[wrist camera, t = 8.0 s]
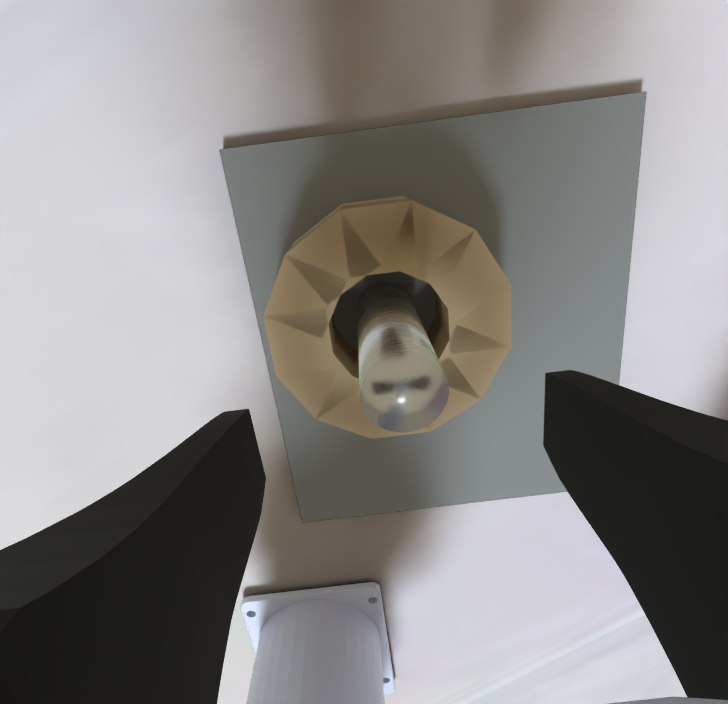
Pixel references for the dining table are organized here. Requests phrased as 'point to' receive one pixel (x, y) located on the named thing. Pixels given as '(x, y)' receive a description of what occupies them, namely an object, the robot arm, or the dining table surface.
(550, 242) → the mat
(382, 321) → the steel peg
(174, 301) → the dining table surface
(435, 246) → the bead
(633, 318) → the dining table surface
